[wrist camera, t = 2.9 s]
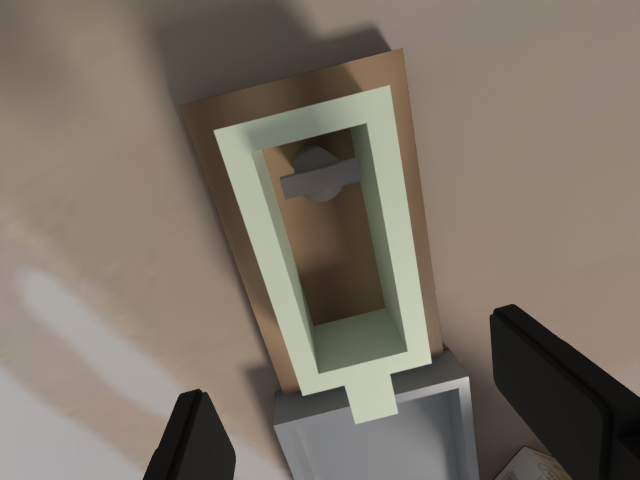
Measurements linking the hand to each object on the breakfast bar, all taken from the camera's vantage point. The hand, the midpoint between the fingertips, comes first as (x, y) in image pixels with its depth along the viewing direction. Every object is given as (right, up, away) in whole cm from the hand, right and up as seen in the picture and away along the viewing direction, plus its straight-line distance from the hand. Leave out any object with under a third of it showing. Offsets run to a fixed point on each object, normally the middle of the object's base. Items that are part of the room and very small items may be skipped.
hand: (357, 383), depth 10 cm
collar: (0, +3, +10) cm, 11 cm away
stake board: (-1, +4, +11) cm, 12 cm away
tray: (+5, -16, +18) cm, 25 cm away
